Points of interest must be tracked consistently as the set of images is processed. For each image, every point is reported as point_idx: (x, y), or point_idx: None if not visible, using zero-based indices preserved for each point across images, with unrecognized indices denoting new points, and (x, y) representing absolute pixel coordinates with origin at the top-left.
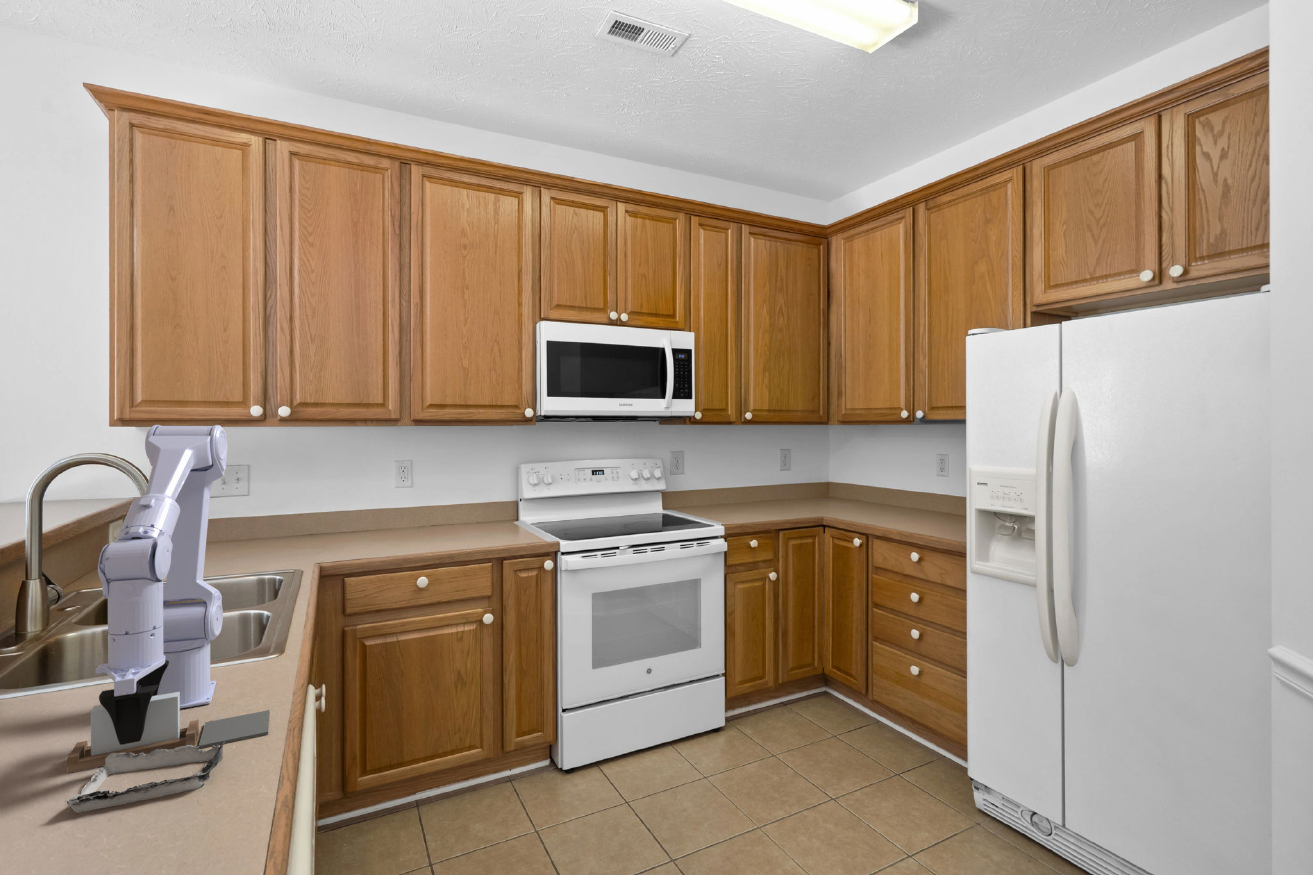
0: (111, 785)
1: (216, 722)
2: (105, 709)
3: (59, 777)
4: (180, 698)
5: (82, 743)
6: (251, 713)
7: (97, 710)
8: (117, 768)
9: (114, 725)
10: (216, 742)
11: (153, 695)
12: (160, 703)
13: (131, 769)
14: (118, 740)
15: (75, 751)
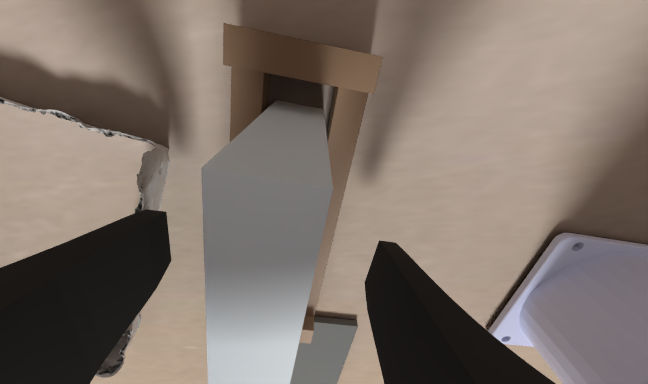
0: (81, 152)
1: (335, 340)
2: (208, 247)
3: (222, 6)
4: (541, 314)
5: (353, 77)
6: (337, 381)
7: (206, 207)
8: (163, 170)
9: (34, 256)
10: None
11: (388, 371)
12: None
13: (161, 196)
14: (131, 215)
15: (274, 53)
